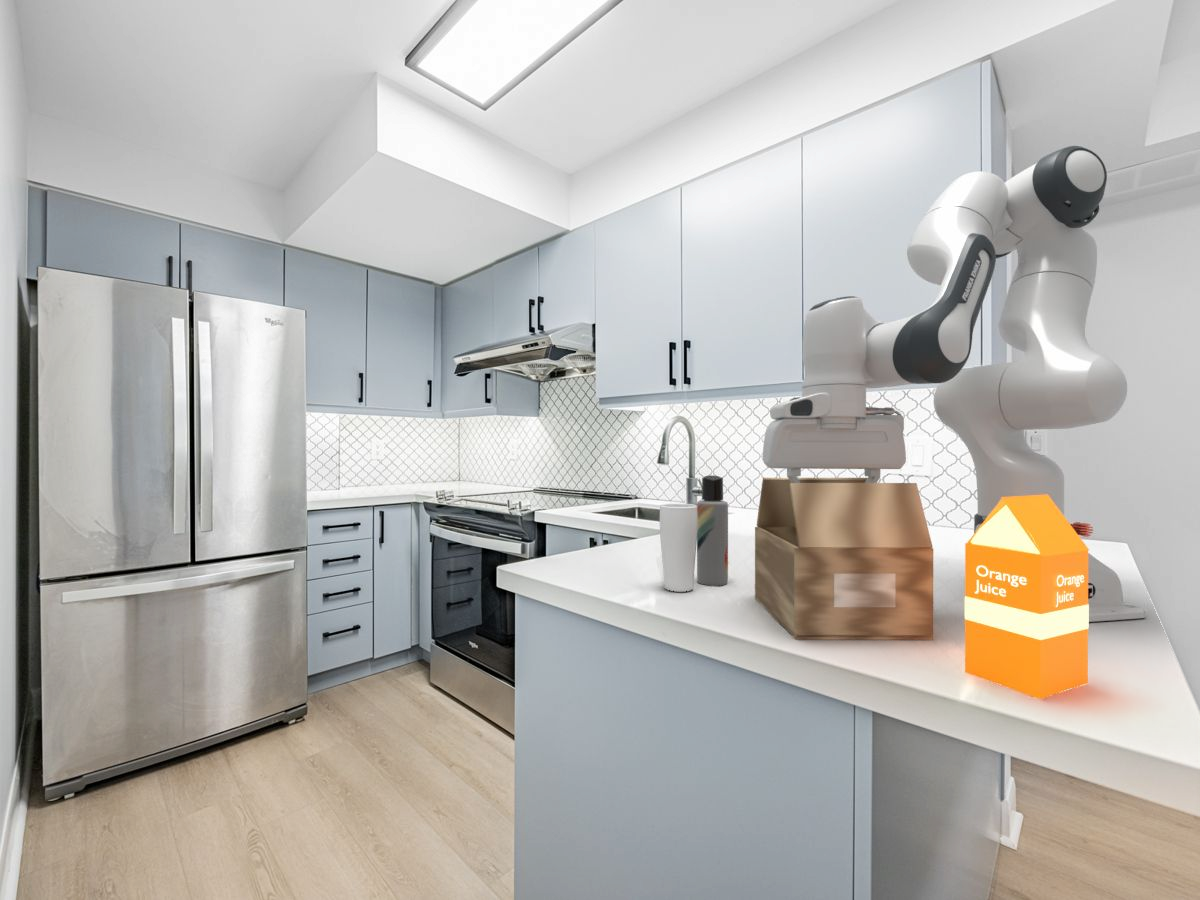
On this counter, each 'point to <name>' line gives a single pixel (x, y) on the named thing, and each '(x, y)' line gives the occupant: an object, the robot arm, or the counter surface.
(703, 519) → the lotion bottle
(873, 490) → the near flap
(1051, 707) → the counter surface
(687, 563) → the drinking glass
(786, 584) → the carton
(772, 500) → the far flap
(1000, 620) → the orange juice
